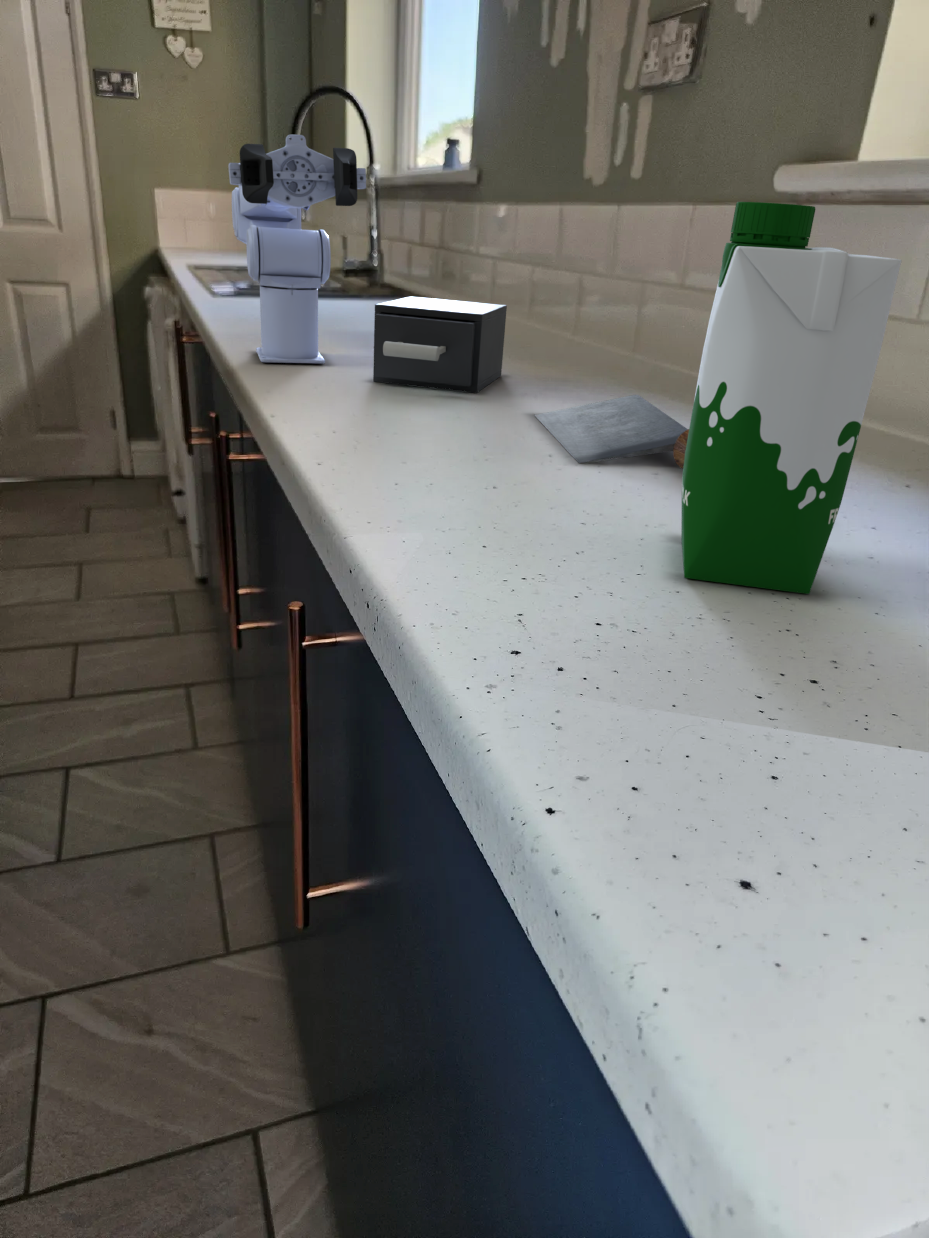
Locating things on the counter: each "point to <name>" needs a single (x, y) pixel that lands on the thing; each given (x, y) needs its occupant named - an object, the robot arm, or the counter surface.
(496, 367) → the small drawer unit
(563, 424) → the meat cleaver
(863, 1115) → the counter surface
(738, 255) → the milk carton
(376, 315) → the dark drawer box
